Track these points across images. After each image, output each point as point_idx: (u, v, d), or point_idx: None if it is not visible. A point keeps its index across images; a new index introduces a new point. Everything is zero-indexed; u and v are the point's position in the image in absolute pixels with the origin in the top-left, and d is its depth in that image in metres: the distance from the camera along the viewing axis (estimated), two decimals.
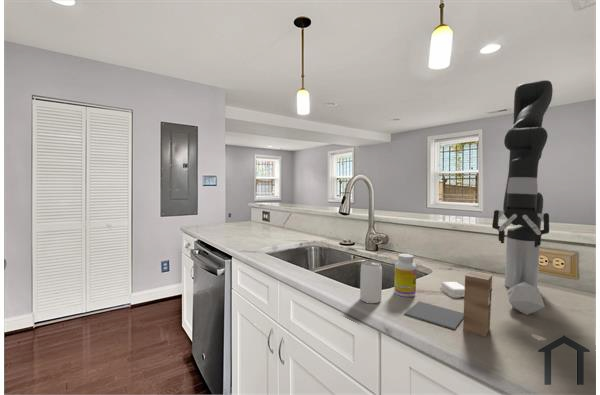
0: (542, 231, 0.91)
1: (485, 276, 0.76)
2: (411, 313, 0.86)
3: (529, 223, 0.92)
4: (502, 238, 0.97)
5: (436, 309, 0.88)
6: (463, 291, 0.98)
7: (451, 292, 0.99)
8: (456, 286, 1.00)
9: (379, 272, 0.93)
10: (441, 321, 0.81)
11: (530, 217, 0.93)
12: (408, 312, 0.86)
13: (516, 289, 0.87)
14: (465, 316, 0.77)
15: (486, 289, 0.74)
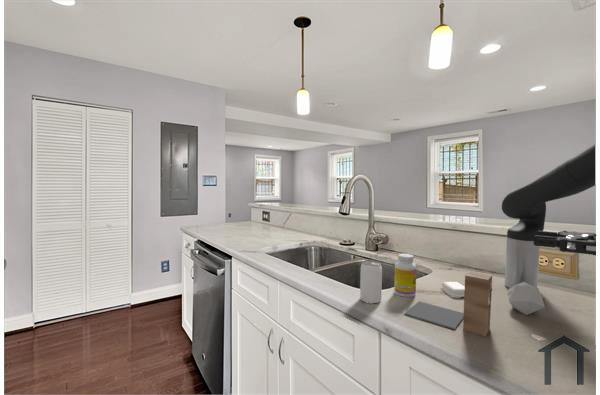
0: None
1: (485, 276, 0.76)
2: (411, 313, 0.86)
3: None
4: None
5: (436, 309, 0.88)
6: (464, 291, 0.98)
7: (452, 292, 0.99)
8: (457, 287, 1.00)
9: (379, 272, 0.93)
10: (441, 321, 0.81)
11: None
12: (408, 312, 0.86)
13: (516, 289, 0.87)
14: (465, 316, 0.77)
15: (486, 289, 0.74)
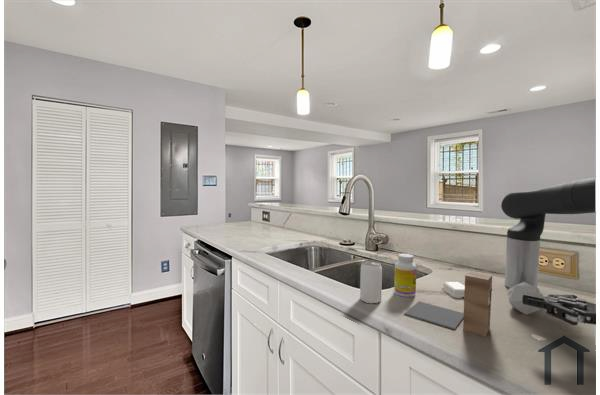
0: None
1: (485, 276, 0.76)
2: (411, 313, 0.86)
3: None
4: None
5: (436, 309, 0.88)
6: None
7: (453, 292, 0.99)
8: (458, 287, 1.00)
9: (379, 272, 0.93)
10: (441, 321, 0.81)
11: None
12: (408, 312, 0.86)
13: (516, 289, 0.87)
14: (465, 316, 0.77)
15: (486, 289, 0.74)
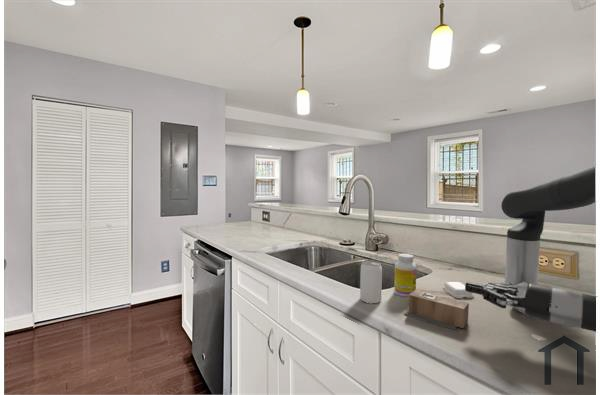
0: None
1: None
2: (411, 313, 0.86)
3: None
4: None
5: None
6: (466, 291, 0.98)
7: (454, 292, 0.99)
8: (459, 287, 1.00)
9: (379, 272, 0.93)
10: None
11: None
12: (408, 312, 0.86)
13: None
14: (448, 322, 0.80)
15: (417, 298, 0.85)
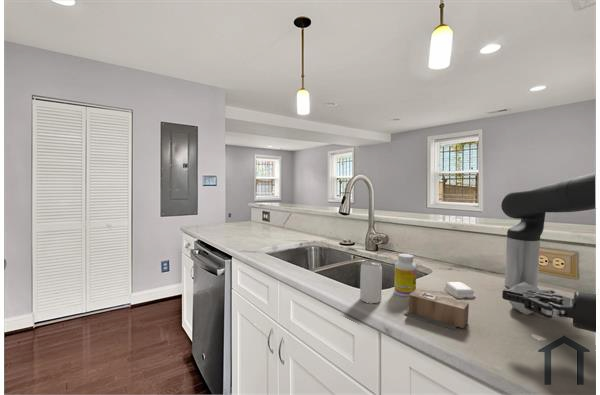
0: None
1: None
2: (411, 313, 0.86)
3: None
4: None
5: None
6: (467, 291, 0.98)
7: (455, 292, 0.99)
8: (461, 287, 1.00)
9: (379, 272, 0.93)
10: None
11: None
12: (408, 312, 0.86)
13: (516, 289, 0.87)
14: (448, 322, 0.80)
15: (417, 298, 0.85)
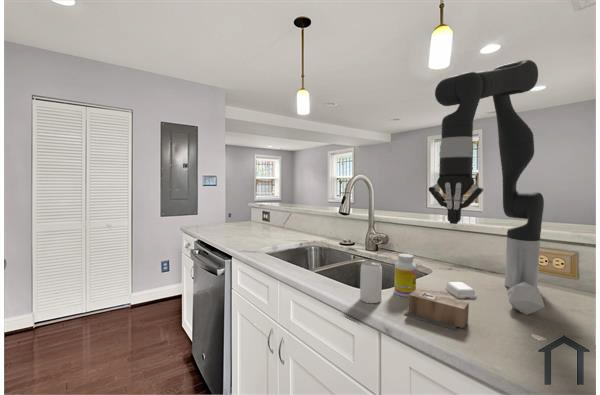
0: (461, 205, 0.78)
1: None
2: (411, 313, 0.86)
3: (456, 193, 0.77)
4: (451, 217, 0.79)
5: None
6: (469, 291, 0.98)
7: (456, 292, 0.99)
8: (462, 287, 1.00)
9: (379, 272, 0.93)
10: None
11: (463, 188, 0.77)
12: (408, 312, 0.86)
13: (516, 289, 0.87)
14: (448, 322, 0.80)
15: (417, 298, 0.85)
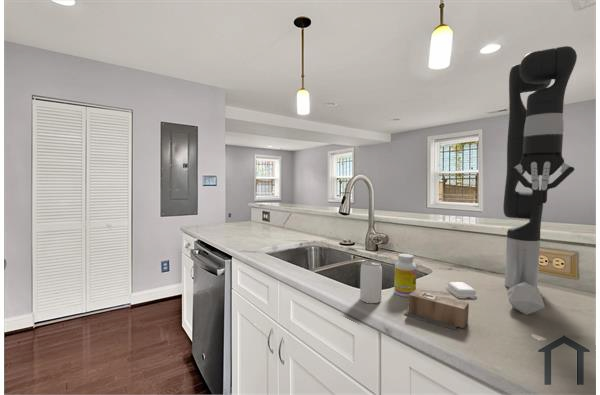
0: (548, 185, 0.74)
1: None
2: (411, 313, 0.86)
3: (544, 173, 0.74)
4: (537, 199, 0.76)
5: None
6: (469, 291, 0.98)
7: (457, 292, 0.99)
8: (463, 287, 1.00)
9: (379, 272, 0.93)
10: None
11: (551, 168, 0.73)
12: (408, 312, 0.86)
13: (516, 289, 0.87)
14: (448, 322, 0.80)
15: (417, 298, 0.85)
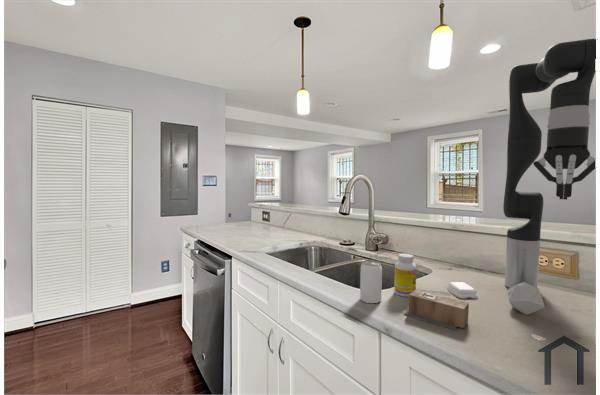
0: (573, 179, 0.73)
1: None
2: (411, 313, 0.86)
3: (570, 166, 0.73)
4: (562, 193, 0.75)
5: None
6: (470, 291, 0.98)
7: (458, 292, 0.99)
8: (464, 287, 1.00)
9: (379, 272, 0.93)
10: None
11: (577, 161, 0.72)
12: (408, 312, 0.86)
13: (516, 289, 0.87)
14: (448, 322, 0.80)
15: (417, 298, 0.85)
